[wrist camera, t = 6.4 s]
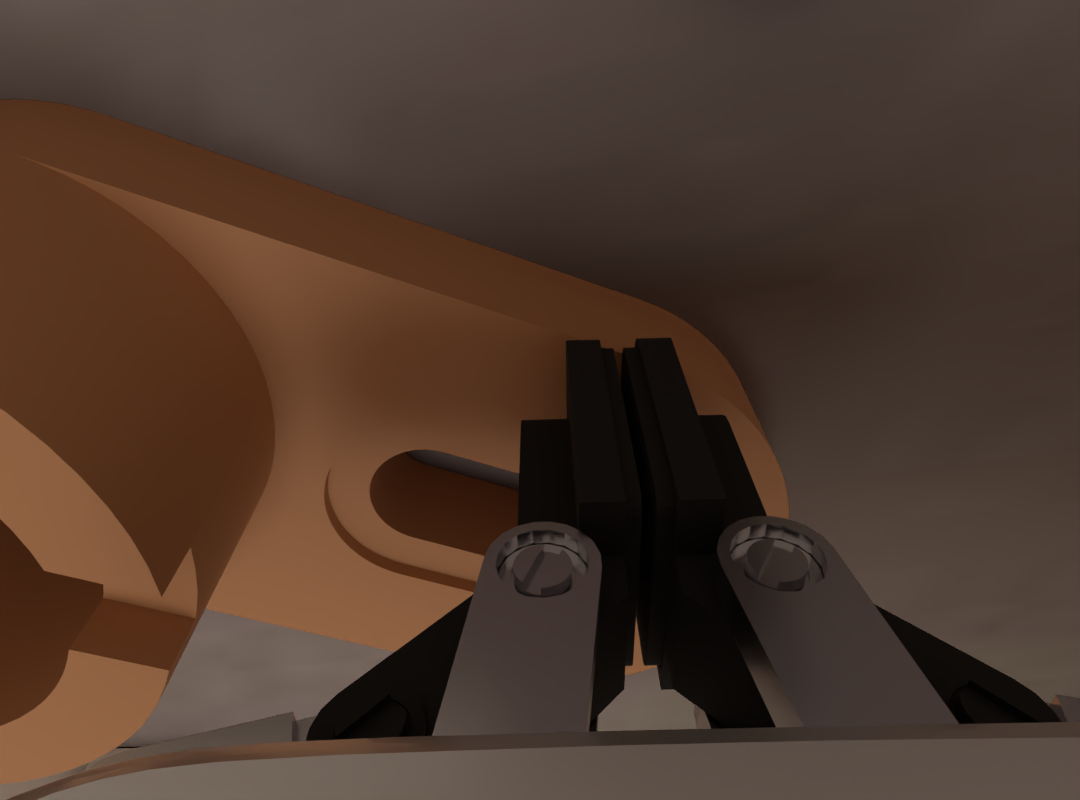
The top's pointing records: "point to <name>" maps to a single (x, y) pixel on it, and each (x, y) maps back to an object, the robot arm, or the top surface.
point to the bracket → (254, 415)
